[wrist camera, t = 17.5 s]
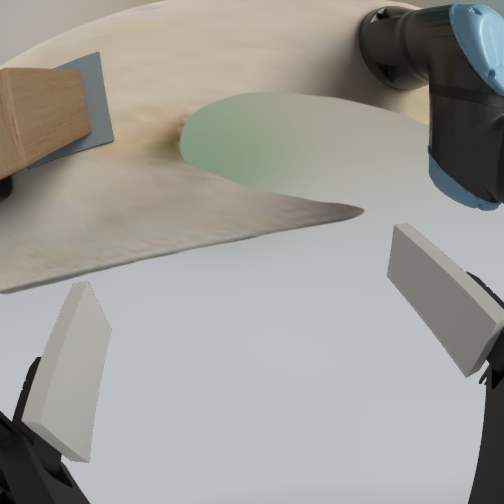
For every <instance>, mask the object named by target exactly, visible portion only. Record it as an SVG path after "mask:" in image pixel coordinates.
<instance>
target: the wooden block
mask: <svg viewBox="0 0 504 504" xmlns="http://www.w3.org/2000/svg"><path fill="white" fill-rule="evenodd" d="M91 132H92V129H91V124H90V120H89V115H88V111H87V106H86V101H85V96H84V91H83V85H82V80H81V74H80V72H79V71H72V70H59V69H42V68H4V69H2V70H0V180H1V179H3V178H5V177H8V176H10V175H12V174H14V173H16V172H18V171H21V170H23V169H25V168H27V167H28V166H30V165H32V164H34V163H35V162H37V161H39V160H40V159H42V158H44V157H46V156H48V155H49V154H51V153H53V152H55V151H57V150H59V149H60V148H62V147H64V146H66V145H68V144H70V143H72V142H74V141H76V140H78V139H80V138H82V137H84V136H86V135H88V134H90V133H91Z"/></svg>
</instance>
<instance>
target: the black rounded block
mask: <svg viewBox="0 0 504 504" xmlns="http://www.w3.org/2000/svg"><path fill="white" fill-rule="evenodd" d="M11 191H12V179H11V176H8V177H5V178H3V179H1V180H0V202H2V201H3V200H5V199H6V198H7V197H8V196H9V195H10V194H11Z"/></svg>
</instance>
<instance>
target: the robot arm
mask: <svg viewBox="0 0 504 504" xmlns="http://www.w3.org/2000/svg"><path fill="white" fill-rule="evenodd" d="M359 43H360V48H361V52H362V55H363V58H364V60H365V62H366V64H367V66H368V67H369V69H370V70H371V71H372V73H373V74H374V75H375V76H376V77H377V78H378V79H379V80H381V81H382V82H383V83H385V84H387V85H389V86H391V87H394V88H398V89H406V90H412V89H418V88H421V87H423V86H426V85H428V84H429V107H430V122H429V127H430V128H429V145H428V154H429V175H430V177H431V179H432V181H433V183H434V184H435V186H436V187H437V188H438V189H439V190H440V191H441V192H443V193H444V194H445V195H447V196H448V197H450V198H452V199H453V200H455V201H457V202H459V203H461V204H463V205H465V206H468V207H471V208H476V207H477V208H479V209H481V210H484V211H491V210H495V209H496V208H498V206H499V205H500V204H501V203H504V19H503V18H502V17H501V16H500V15H499V14H498V13H497V12H496V11H494V10H493V9H491V8H489V7H488V6H485V5H482V4H465V3H454V4H451V5H445V6H438V7H432V8H426V9H421V10H412V9H408V8H404V7H399V6H386V7H382V8H379V9H376V10H374V11H372V12H370V13H369V14H368V15H367V16H366V17H365V19H364V20H363V22H362V25H361V28H360V33H359ZM387 277H388V278H389V279H390V280H391V282H392V283H393V284H394V285H395V286H396V288H397V289H398V290H399V291H400V292H401V293H402V295H403V296H404V297H405V298H406V300H407V301H408V302H409V303H410V304H411V306H412V307H413V308H414V309H415V311H416V312H417V313H418V314H419V316H420V317H421V318H422V319H423V320H424V322H425V323H426V324H427V326H428V327H429V328H430V330H432V332H433V334H434V335H435V336H436V337H437V339H438V340H439V341H440V343H441V344H442V345H443V347H444V348H445V349H446V351H447V352H448V353H449V355H450V356H451V358H452V359H453V360H454V362H455V363H456V364H457V366H458V367H459V368H460V370H461V371H462V373H463V374H464V376H465V377H466V378H467V377H469V376H470V375H472V374H473V373H475V372H477V371H479V370H480V368H481V367H482V365H483V363H484V362H485V360H487V361H488V362H489V366H488V367H487V369H486V371H485V372H484V374H483V375H482V377H481V378H480V380H479V384H481V383H482V382H483V380H484V379H485V377H487V379H486V382H485V384H484V385H486V402H485V414H484V423H483V431H482V439H481V445H480V451H479V458H478V463H477V468H476V473H475V477H474V482H473V486H472V490H471V494H470V498H469V501H468V504H504V302H503V301H502V300H501V299H500V298H499V297H498V296H497V295H496V294H495V293H493V292H492V290H491V289H490V288H489V287H486V285H485V284H484V283H483V282H482V281H481V280H480V279H479V278H478V277H476V276H474V275H473V274H471V273H469V272H465V271H464V270H463V269H462V268H460V267H459V266H458V265H457V264H456V263H455V262H454V261H453V260H452V259H450V258H449V257H448V256H447V255H446V254H445V253H444V252H442V251H441V250H440V249H439V248H438V247H437V246H435V245H434V244H433V243H432V242H431V241H429V240H428V239H427V238H426V237H425V236H423V235H422V234H421V233H420V232H418V231H417V230H416V229H415V228H414V227H412V226H411V225H410V224H408V223H403V224H397V225H394V231H393V239H392V247H391V253H390V260H389V266H388V272H387ZM111 331H112V328H111V326H110V325H109V322H108V320H107V319H106V317H105V315H104V313H103V311H102V309H101V306H100V304H99V303H98V300H97V298H96V296H95V294H94V292H93V290H92V288H91V285H90V283H89V281H85V282H79V283H74V284H73V285H72V287H71V289H70V292H69V294H68V296H67V298H66V300H65V302H64V305H63V307H62V309H61V311H60V313H59V316H58V318H57V321H56V323H55V325H54V327H53V330H52V332H51V335H50V337H49V340H48V342H47V345H46V347H45V350H44V352H43V355H42V357H37V358H36V359H35V361H34V362H33V363H32V365H31V366H30V368H29V371H28V373H27V376H26V381H25V382H24V384H23V387H22V388H23V390H22V391H21V394H20V397H19V400H18V403H17V406H16V409H15V413H14V416H13V420H12V422H11V421H10V420H9V419H8V418H7V417H6V416H5V415H4V414H3V413H2V412H1V411H0V504H90V503H89V501H88V500H87V498H86V497H85V496H84V494H83V493H82V491H81V490H80V488H79V487H78V485H77V484H76V482H75V480H74V479H73V477H72V476H71V474H70V472H69V471H68V469H67V468H66V466H65V465H64V464H63V463H62V462H61V456H62V455H64V456H65V457H67V458H68V459H69V460H71V461H76V462H86V463H89V460H90V451H91V441H92V433H93V426H94V418H95V412H96V405H97V400H98V394H99V388H100V383H101V378H102V372H103V368H104V363H105V358H106V353H107V348H108V344H109V339H110V336H111Z"/></svg>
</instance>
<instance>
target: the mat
mask: <svg viewBox="0 0 504 504" xmlns="http://www.w3.org/2000/svg"><path fill="white" fill-rule="evenodd" d="M54 69H59V70H72V71H79V72H80V74H81V80H82V85H83V91H84V96H85V101H86V106H87V111H88V115H89V120H90V124H91V129H92V132H91V133H90V134H88V135H86V136H84V137H82V138H80V139H78V140H76V141H74V142H72V143H70V144H68V145H66V146H64V147H62V148H60V149H59V150H57V151H55V152H53V153H51V154H49V155H48V156H46V157H44V158H42V159H40V160H39V161H37V162H35V163H34V164H32V165H30V166H28V167H27V169H30V168H33V167H35V166H38V165H40V164H43V163H46V162H49V161H51V160H54V159H57V158H60V157H63V156H66V155H69V154H72V153H75V152H78V151H81V150H84V149H87V148H90V147H94V146H97V145H100V144H104V143H107V142H111V141H114V135H113V131H112V126H111V121H110V115H109V110H108V105H107V99H106V93H105V87H104V81H103V74H102V67H101V60H100V52H96V53H93V54H90V55H87V56H85V57H82V58H79V59H77V60H74V61H71V62H69V63H66V64H64V65H61V66H59V67H57V68H54Z"/></svg>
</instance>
